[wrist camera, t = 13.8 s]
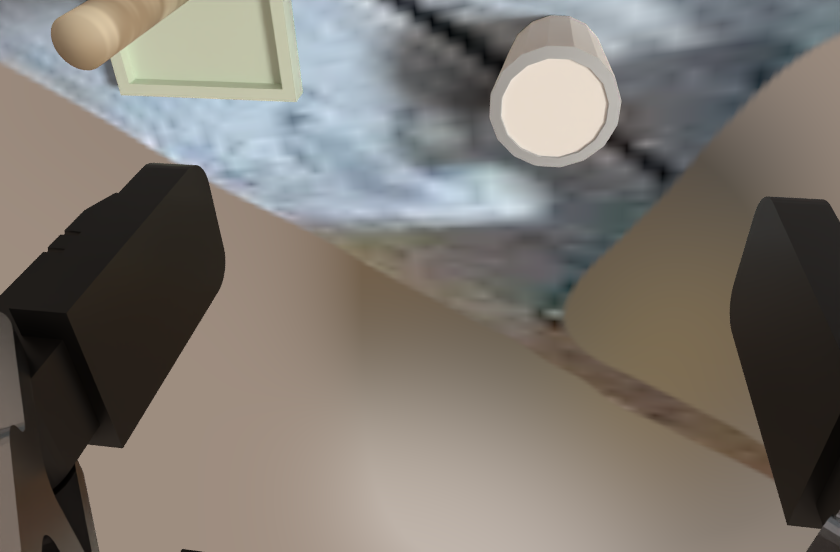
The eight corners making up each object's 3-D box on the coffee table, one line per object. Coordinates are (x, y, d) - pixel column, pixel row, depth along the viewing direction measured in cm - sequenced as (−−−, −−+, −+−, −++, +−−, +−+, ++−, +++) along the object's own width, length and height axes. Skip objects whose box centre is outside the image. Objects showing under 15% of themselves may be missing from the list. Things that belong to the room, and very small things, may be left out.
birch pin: (157, -49, 42) (42, 15, 33) (198, -50, 42) (94, 14, 33) (169, -4, 44) (62, 70, 34) (209, -5, 44) (112, 70, 34)
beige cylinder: (485, 100, 45) (475, 152, 40) (514, -9, 41) (507, 31, 36) (591, 126, 45) (595, 181, 40) (630, 19, 41) (641, 63, 36)
